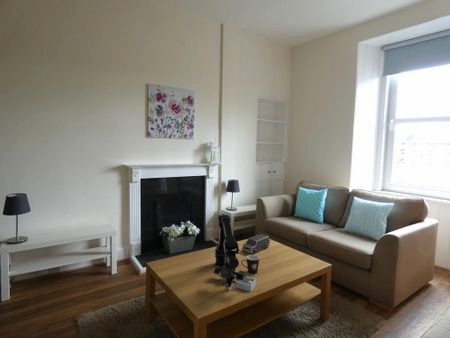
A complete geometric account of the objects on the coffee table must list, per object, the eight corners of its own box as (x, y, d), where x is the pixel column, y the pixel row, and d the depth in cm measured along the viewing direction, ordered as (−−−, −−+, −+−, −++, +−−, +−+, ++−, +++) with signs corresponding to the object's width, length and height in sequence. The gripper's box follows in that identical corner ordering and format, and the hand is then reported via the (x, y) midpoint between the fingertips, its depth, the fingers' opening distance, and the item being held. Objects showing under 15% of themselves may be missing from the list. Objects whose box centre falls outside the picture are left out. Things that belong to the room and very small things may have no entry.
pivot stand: (221, 283, 169) (221, 275, 168) (227, 277, 176) (227, 269, 176) (225, 284, 167) (226, 276, 167) (231, 278, 175) (231, 270, 174)
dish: (236, 287, 164) (236, 281, 164) (242, 280, 172) (242, 275, 171) (250, 291, 160) (250, 285, 159) (256, 284, 168) (256, 278, 167)
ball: (248, 281, 163) (252, 285, 162) (250, 278, 166) (254, 282, 165) (245, 284, 164) (249, 288, 163) (247, 282, 167) (251, 286, 166)
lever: (206, 279, 166) (207, 275, 166) (216, 270, 178) (217, 266, 177) (229, 291, 159) (230, 286, 159) (238, 281, 171) (239, 277, 170)
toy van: (270, 247, 229) (270, 235, 228) (251, 255, 211) (252, 243, 210) (260, 244, 236) (260, 232, 235) (241, 251, 219) (241, 239, 218)
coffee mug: (260, 269, 187) (260, 255, 186) (258, 275, 179) (258, 260, 178) (243, 267, 190) (243, 253, 189) (240, 273, 182) (241, 258, 181)
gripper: (209, 262, 157) (209, 288, 159) (239, 269, 149) (238, 297, 150) (218, 255, 167) (218, 280, 169) (246, 262, 159) (246, 287, 160)
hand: (229, 286), depth 162 cm, fingers closed
